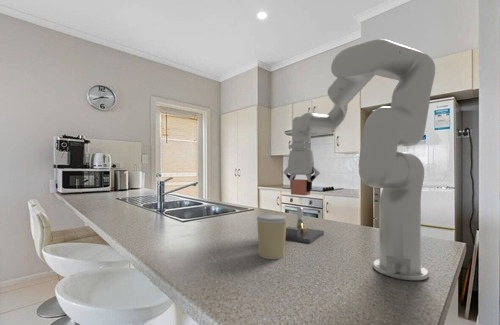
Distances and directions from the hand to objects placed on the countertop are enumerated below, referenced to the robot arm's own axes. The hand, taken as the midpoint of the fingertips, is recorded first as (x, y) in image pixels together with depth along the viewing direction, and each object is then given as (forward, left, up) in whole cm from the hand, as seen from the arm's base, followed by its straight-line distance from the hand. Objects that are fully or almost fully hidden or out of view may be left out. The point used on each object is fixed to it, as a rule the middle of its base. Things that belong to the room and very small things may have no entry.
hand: (300, 190), depth 106 cm
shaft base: (-2, -1, -18) cm, 18 cm away
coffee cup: (-29, -2, -18) cm, 34 cm away
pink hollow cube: (0, 0, -2) cm, 2 cm away
